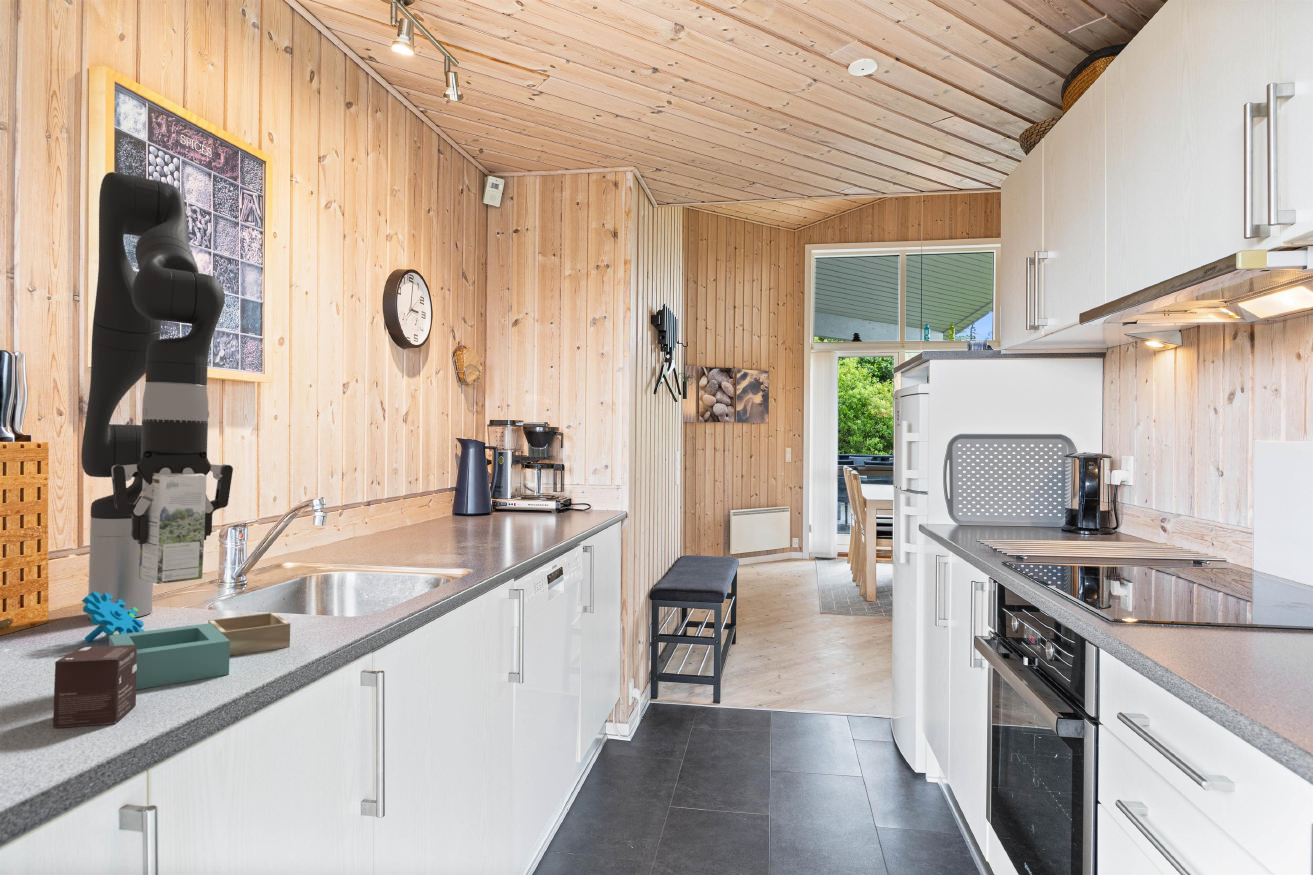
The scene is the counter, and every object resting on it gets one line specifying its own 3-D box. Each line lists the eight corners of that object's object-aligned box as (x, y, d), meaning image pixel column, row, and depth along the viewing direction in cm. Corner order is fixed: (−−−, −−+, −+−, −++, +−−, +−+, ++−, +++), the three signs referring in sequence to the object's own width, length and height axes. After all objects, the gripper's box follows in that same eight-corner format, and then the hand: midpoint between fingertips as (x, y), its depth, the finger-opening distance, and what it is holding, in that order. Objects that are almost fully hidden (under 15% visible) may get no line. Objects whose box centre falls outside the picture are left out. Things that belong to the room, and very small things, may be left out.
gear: (121, 639, 110) (76, 590, 110) (87, 668, 109) (42, 618, 110) (163, 631, 121) (122, 586, 121) (133, 657, 120) (91, 612, 120)
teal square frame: (108, 668, 102) (109, 635, 102) (209, 653, 110) (210, 623, 110) (119, 692, 93) (120, 655, 93) (228, 674, 101) (229, 640, 101)
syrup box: (184, 574, 105) (187, 470, 105) (204, 579, 102) (207, 472, 102) (138, 579, 101) (141, 471, 101) (156, 585, 97) (160, 473, 97)
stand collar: (207, 642, 115) (208, 620, 115) (272, 633, 121) (273, 612, 121) (221, 656, 108) (222, 632, 108) (289, 646, 114) (290, 623, 114)
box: (115, 725, 83) (118, 658, 83) (50, 729, 81) (53, 661, 81) (137, 706, 88) (138, 643, 88) (76, 710, 87) (78, 646, 87)
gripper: (229, 420, 109) (225, 535, 109) (106, 416, 99) (103, 542, 99) (241, 419, 103) (238, 541, 103) (113, 415, 94) (109, 549, 94)
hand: (172, 541), depth 101 cm, fingers closed on syrup box, 6 cm apart
